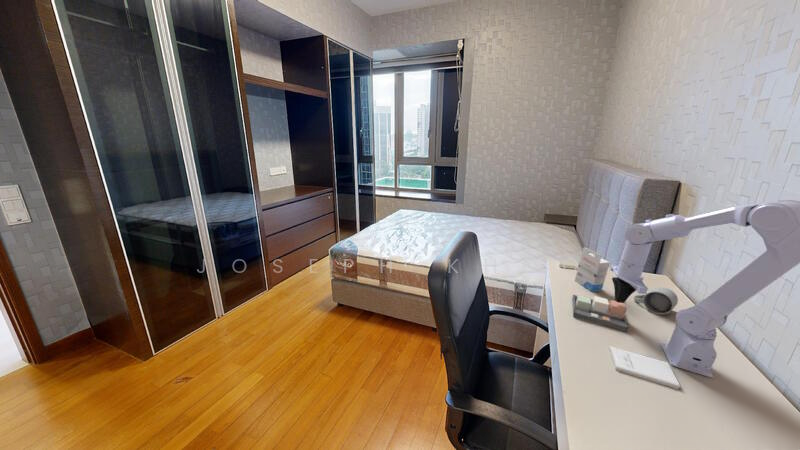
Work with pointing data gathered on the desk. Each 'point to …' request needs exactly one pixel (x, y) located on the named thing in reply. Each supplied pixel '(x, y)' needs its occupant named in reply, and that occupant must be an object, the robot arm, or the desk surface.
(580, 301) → the key sage
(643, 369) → the external hard drive
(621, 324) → the keypad
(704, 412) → the desk surface
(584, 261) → the ink box
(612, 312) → the key terracotta
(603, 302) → the key cream
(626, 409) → the desk surface
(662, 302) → the ceramic mug
